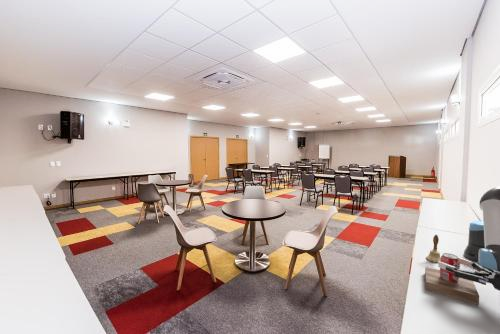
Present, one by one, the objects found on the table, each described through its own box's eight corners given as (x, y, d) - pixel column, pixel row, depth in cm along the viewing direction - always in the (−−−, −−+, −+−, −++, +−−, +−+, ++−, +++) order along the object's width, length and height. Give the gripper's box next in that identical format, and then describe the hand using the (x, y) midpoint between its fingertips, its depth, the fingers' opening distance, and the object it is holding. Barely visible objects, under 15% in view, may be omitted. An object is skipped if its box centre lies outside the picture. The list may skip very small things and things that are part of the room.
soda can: (458, 279, 109) (460, 255, 108) (459, 285, 104) (460, 260, 103) (439, 274, 114) (440, 251, 113) (439, 279, 109) (440, 256, 108)
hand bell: (443, 259, 138) (444, 234, 137) (443, 264, 131) (444, 238, 130) (425, 255, 143) (427, 231, 142) (425, 260, 137) (426, 235, 136)
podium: (425, 273, 122) (425, 266, 122) (470, 285, 111) (471, 277, 111) (426, 289, 108) (426, 281, 107) (478, 304, 97) (479, 296, 96)
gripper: (494, 301, 85) (431, 274, 105) (523, 286, 95) (460, 263, 114) (495, 282, 85) (432, 258, 104) (524, 269, 94) (461, 249, 114)
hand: (446, 261), depth 109 cm, fingers open, 13 cm apart
